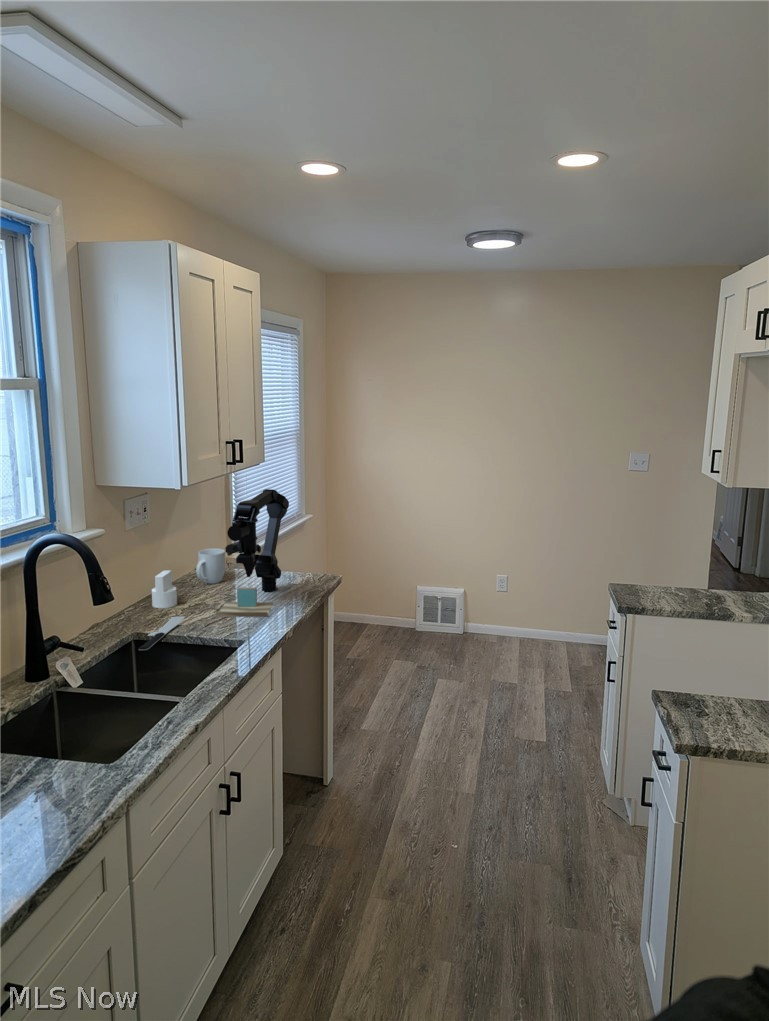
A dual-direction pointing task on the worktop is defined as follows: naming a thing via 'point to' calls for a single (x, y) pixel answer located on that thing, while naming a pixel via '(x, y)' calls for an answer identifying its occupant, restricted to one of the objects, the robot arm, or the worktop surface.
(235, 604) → the board
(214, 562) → the mug
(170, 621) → the kitchen cleaver
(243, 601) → the tile
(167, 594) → the base with upright slab
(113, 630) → the worktop surface
